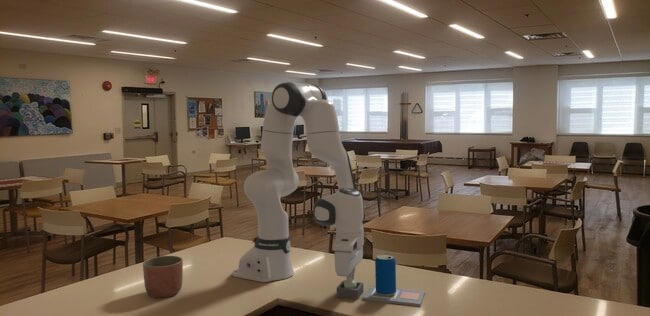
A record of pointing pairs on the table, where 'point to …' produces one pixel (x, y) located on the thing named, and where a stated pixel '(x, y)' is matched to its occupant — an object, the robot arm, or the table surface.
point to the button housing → (350, 291)
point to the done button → (350, 284)
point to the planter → (163, 275)
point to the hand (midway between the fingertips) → (350, 281)
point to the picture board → (396, 296)
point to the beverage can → (385, 274)
